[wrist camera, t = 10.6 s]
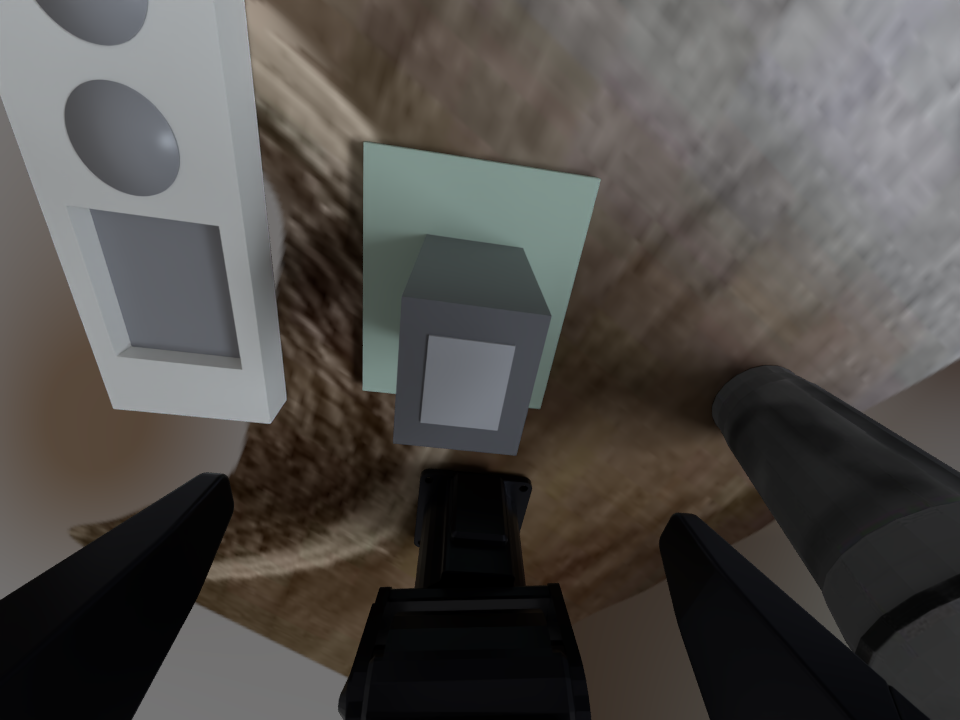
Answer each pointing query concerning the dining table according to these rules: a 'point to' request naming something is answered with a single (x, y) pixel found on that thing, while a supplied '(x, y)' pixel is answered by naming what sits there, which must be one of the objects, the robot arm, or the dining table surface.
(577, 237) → the mat
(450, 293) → the block
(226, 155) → the power strip
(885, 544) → the beverage cup
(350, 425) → the dining table surface
